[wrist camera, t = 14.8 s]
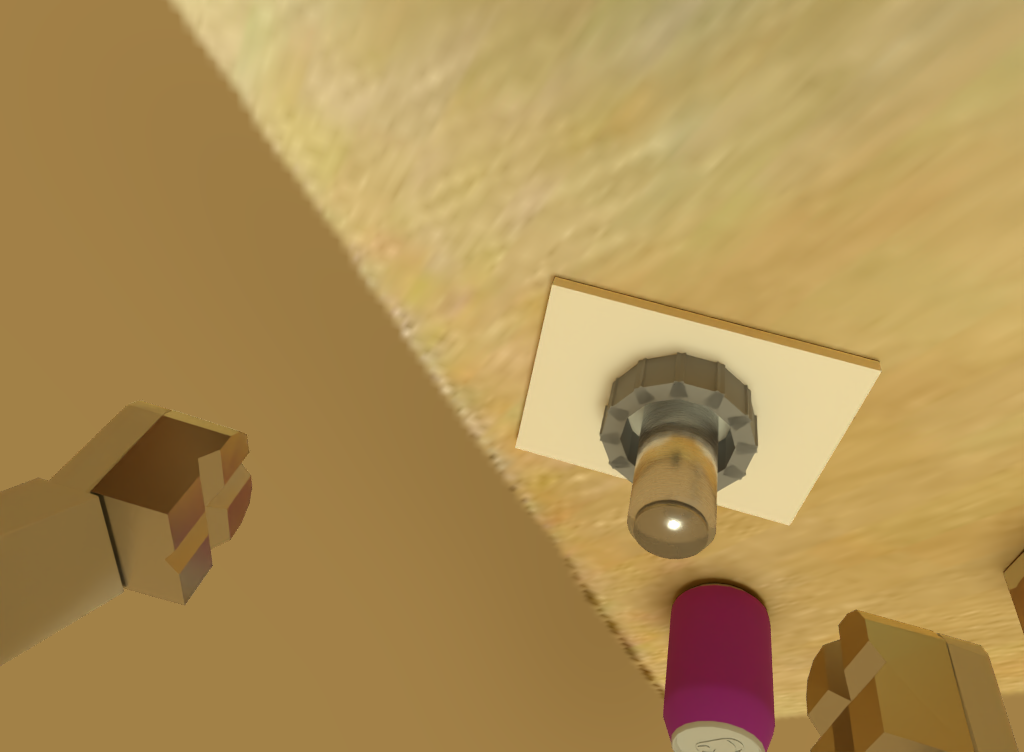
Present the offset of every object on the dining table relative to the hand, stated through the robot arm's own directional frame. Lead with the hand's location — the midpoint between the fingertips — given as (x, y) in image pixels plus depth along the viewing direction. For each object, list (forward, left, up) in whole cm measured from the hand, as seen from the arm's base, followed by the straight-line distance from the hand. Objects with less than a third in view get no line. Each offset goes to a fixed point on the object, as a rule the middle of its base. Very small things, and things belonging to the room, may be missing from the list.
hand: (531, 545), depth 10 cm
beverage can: (-16, +42, -34) cm, 57 cm away
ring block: (-7, +23, -34) cm, 42 cm away
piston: (-7, +23, -33) cm, 41 cm away
